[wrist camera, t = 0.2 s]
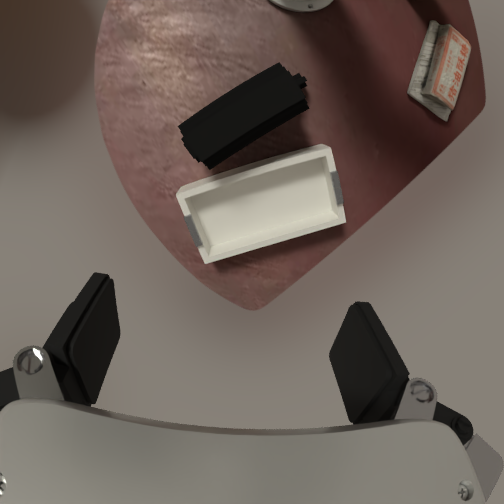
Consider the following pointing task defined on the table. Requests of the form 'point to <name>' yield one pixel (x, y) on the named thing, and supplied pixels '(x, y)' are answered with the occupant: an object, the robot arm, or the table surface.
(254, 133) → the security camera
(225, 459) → the robot arm
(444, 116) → the packaged product
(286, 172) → the cradle
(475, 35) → the table surface
